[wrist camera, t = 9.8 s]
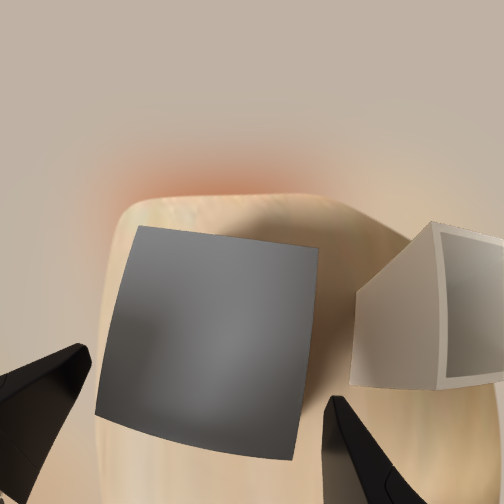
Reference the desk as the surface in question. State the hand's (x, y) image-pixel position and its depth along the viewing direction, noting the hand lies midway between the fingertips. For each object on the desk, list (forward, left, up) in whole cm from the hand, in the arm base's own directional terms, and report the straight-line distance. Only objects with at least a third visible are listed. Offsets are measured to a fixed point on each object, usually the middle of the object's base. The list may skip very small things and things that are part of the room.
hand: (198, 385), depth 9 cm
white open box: (+1, -11, -9) cm, 14 cm away
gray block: (+2, 0, -4) cm, 4 cm away
